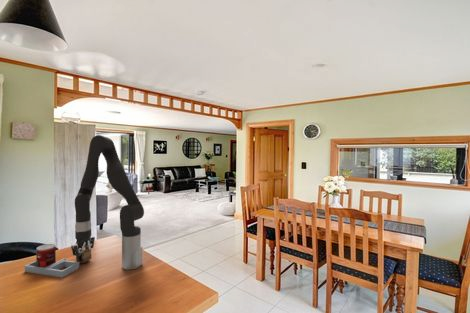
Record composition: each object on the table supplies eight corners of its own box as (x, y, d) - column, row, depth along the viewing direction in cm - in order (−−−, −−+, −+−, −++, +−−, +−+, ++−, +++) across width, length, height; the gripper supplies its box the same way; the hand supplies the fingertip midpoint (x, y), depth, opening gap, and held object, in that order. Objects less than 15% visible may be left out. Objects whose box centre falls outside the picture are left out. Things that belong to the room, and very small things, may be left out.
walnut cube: (91, 258, 135) (91, 249, 135) (84, 262, 130) (84, 253, 130) (83, 257, 136) (83, 249, 136) (76, 261, 131) (76, 252, 131)
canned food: (39, 265, 129) (39, 244, 128) (57, 262, 132) (57, 242, 131) (34, 272, 122) (33, 250, 121) (53, 269, 125) (53, 248, 124)
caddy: (82, 266, 128) (82, 260, 128) (62, 277, 117) (62, 271, 117) (47, 261, 133) (46, 255, 133) (24, 271, 122) (24, 265, 122)
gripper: (87, 224, 140) (88, 253, 141) (66, 232, 126) (66, 265, 127) (99, 225, 139) (99, 254, 139) (78, 233, 125) (78, 266, 125)
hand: (83, 259), depth 133 cm, fingers closed on walnut cube, 5 cm apart
